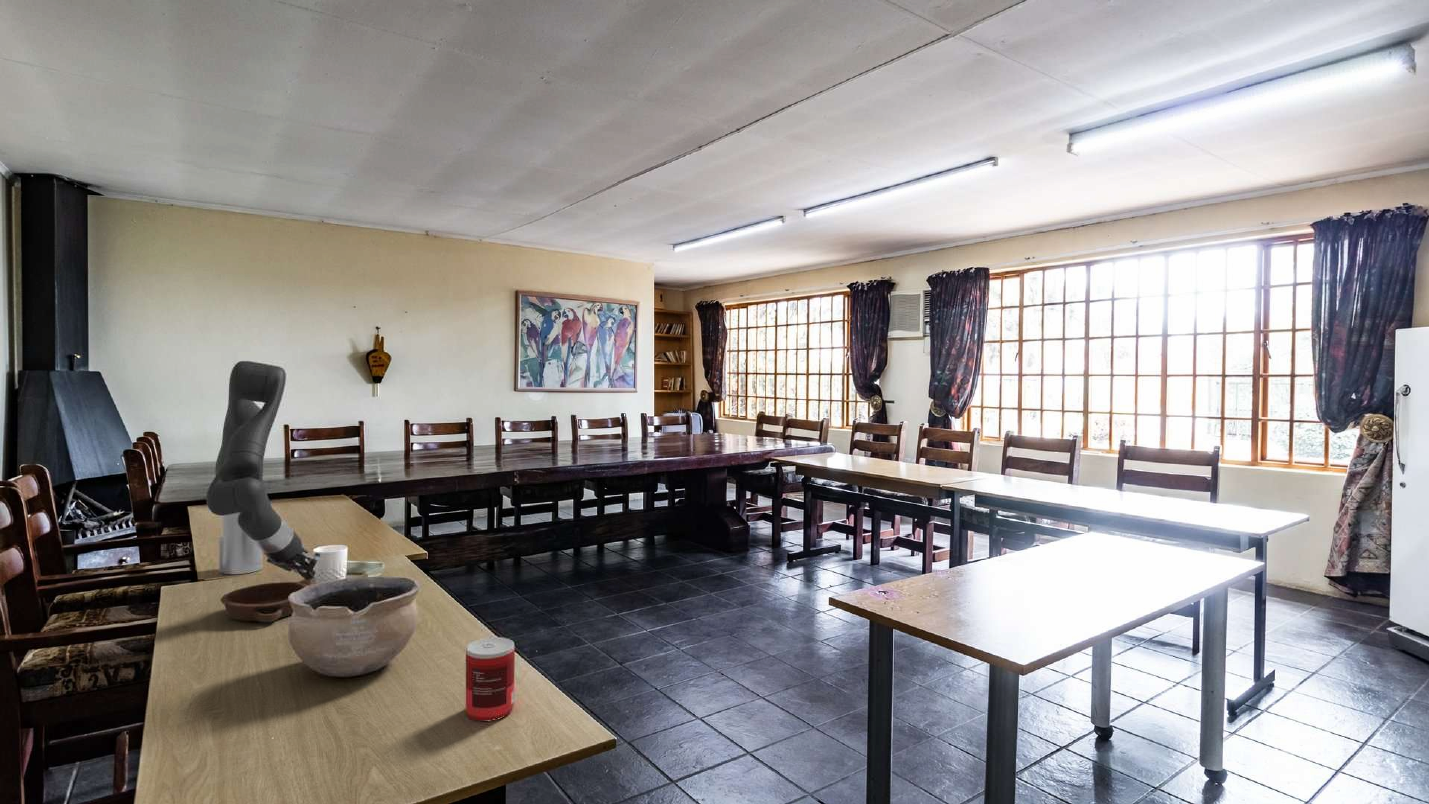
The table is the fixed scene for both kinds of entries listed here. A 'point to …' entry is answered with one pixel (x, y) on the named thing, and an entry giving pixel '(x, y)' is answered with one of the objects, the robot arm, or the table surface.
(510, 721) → the table surface
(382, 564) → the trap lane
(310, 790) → the table surface
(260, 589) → the dish
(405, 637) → the ceramic bowl
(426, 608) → the table surface
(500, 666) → the canned food
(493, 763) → the table surface
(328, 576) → the white cup
